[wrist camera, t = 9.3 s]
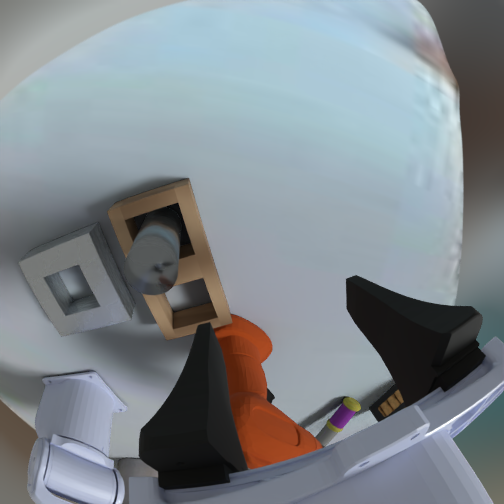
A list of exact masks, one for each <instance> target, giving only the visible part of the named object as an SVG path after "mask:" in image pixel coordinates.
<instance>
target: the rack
mask: <svg viewBox="0 0 504 504" xmlns="http://www.w3.org/2000/svg"><path fill="white" fill-rule="evenodd" d="M175 203H179V206H180V209H181V213H182V216H183V219H184V222H185V225H186V228H187V231H188V234H189V237H190V240H191V243H189V244H185V245H182V246H180V251H179V265H178V277H177V280H176V282H175V284H174V286H176V285H179V284H183V283H186V282H190V281H193V280H197V279H200V278H204V281H205V284H206V287H207V289H208V292H209V295H210V298H211V300H212V302H210V303H207V304H203V305H200V306H196V307H193V308H189V309H185V310H182V311H178V312H174V313H173V311H172V308H171V306H170V304H169V302H168V300H167V298H166V295H165V293H163V294H160V295H146V294H143V296H144V298H145V300H146V302H147V304H148V306H149V308H150V310H151V312H152V314H153V316H154V318H155V320H156V322H157V324H158V326H159V327H160V329H161V331H162V333H163V335H164V337H165V338H166V340H171V339H175V338H179V337H183V336H187V335H190V334H194V333H196V329H197V326H198V325H200V324H204V323H207V322H210V323H211V325H212V327H213V328H217V327H220V326H224V325H227V324H231V323H233V322H232V318H231V314H230V310H229V306H228V303H227V300H226V297H225V294H224V291H223V288H222V285H221V282H220V279H219V276H218V272H217V269H216V266H215V263H214V260H213V257H212V254H211V250H210V247H209V244H208V241H207V237H206V234H205V231H204V228H203V224H202V221H201V218H200V214H199V211H198V208H197V204H196V201H195V197H194V194H193V190H192V187H191V183H190V180H189V178H187V179H184V180H181V181H178V182H174V183H171V184H168V185H165V186H162V187H159V188H156V189H153V190H150V191H147V192H144V193H141V194H138V195H135V196H132V197H129V198H126V199H124V200H121V201H118V202H116V203H115V204H114V205H113V206H112V207H111V208H110V209H109V210H108V211H107V213H108V215H109V218H110V221H111V223H112V226H113V228H114V231H115V233H116V236H117V238H118V241H119V243H120V246H121V248H122V250H123V253H124V255H125V257H127V255H128V253H129V251H130V249H131V246H132V244H133V242H134V240H135V238H136V236H137V234H138V232H139V230H138V228H137V225H136V222H135V220H134V217H135V216H138V215H141V214H144V213H147V212H150V211H153V210H156V209H159V208H162V207H165V206H168V205H172V204H175Z"/></svg>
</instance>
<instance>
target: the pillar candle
mask: <svg viewBox="0 0 504 504" xmlns="http://www.w3.org/2000/svg"><path fill="white" fill-rule="evenodd" d="M117 470H118V471H119V472H120V474H121V476H122V478H123V481H124V487H125V494H124V499H123V503H122V504H129V477H157V478H158V471H156V470H155V469H153V468H151V467H150V466H148V465H147V464H145V463H144V462H143V461H142V460H141V459H134V458H124V459H121V460H119V461H118V469H117Z"/></svg>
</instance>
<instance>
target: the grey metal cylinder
mask: <svg viewBox="0 0 504 504" xmlns="http://www.w3.org/2000/svg"><path fill="white" fill-rule="evenodd" d="M181 227H182V224H181V219H180V217H179V215H178V214H177V213H176V212H175V211H174V210H172V209H171V208H168V207H162V208H159V209H156V210H153V211H150V212H149V213H148V214H147V216H146V217H145V219H144V221H143V223H142V225H141V227H140V229H139V232H138V234H137V236H136V238H135V240H134V242H133V244H132V246H131V249H130V251H129V253H128V255H127V257H126V260H125V262H124V275H125V278H126V280H127V282H128V283H129V284H130V286H131V287H133V288H134V289H135V290H136V291H138V292H140V293H142V294H146V295H160V294H163V293H165V292H167V291H169V290H170V289H171V288H172V287H173V286H174V284H175V282H176V280H177V277H178V265H179V251H180V238H181Z"/></svg>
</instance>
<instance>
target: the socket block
mask: <svg viewBox="0 0 504 504" xmlns="http://www.w3.org/2000/svg"><path fill="white" fill-rule="evenodd" d="M18 264H19V266H20V268H21V270H22V272H23V274H24V276H25V277H26V279H27V281H28V283H29V285H30V287H31V289H32V290H33V292H34V294H35V296H36V297H37V299H38V301H39V303H40V304H41V306H42V308H43V309H44V311H45V312H46V314H47V316H48V317H49V319H50V320H51V322H52V323H53V325H54V326H55V328H56V329H57V331H58V332H59V334H60V335H61V337H62V336H67V335H71V334H76V333H80V332H84V331H89V330H93V329H97V328H101V327H105V326H109V325H114V324H118V323H122V322H126V321H130V320H132V315H133V311H134V307H135V302H134V300H133V298H132V296H131V294H130V292H129V290H128V288H127V286H126V284H125V282H124V280H123V278H122V276H121V274H120V271H119V269H118V267H117V265H116V263H115V261H114V258H113V256H112V254H111V251H110V249H109V247H108V245H107V242H106V240H105V237H104V235H103V232H102V230H101V228H100V225H99V222H98V223H95V224H92V225H90V226H87V227H85V228H82V229H80V230H77V231H75V232H72V233H70V234H67V235H65V236H63V237H60V238H58V239H55V240H53V241H51V242H48V243H46V244H44V245H42V246H39V247H37V248H35V249H33V250H31V251H29V252H28V253H27V254H26V255H25V256H24V257H23V258H22V259H21V260H20V261H19V262H18ZM76 265H79V266H80V268H81V270H82V272H83V274H84V276H85V278H86V280H87V282H88V284H89V286H90V288H91V290H92V292H93V294H94V295H91V296H88V297H85V298H81V299H78V300H75V301H73V299H72V297H71V295H70V294H69V292H68V290H67V288H66V286H65V285H64V283H63V281H62V279H61V277H60V275H59V273H58V272H59V271H62V270H65V269H68V268H70V267H73V266H76Z"/></svg>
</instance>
